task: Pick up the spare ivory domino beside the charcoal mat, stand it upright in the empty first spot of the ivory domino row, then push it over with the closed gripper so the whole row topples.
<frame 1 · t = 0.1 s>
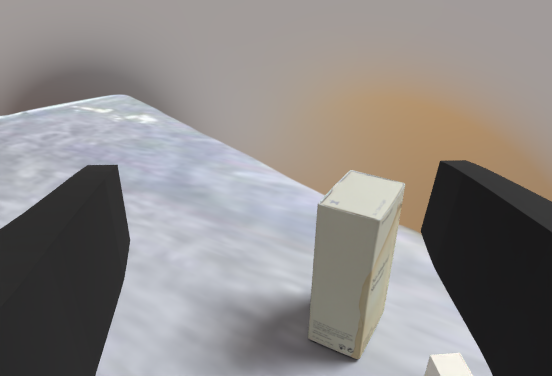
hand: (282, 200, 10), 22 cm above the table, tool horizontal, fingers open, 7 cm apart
skincare box: (346, 325, 36), on the table
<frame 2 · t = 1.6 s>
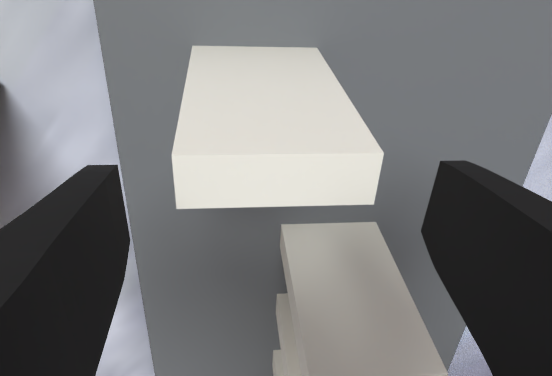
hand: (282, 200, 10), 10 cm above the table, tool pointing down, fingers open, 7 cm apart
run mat: (320, 262, 26), on the table
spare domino: (255, 65, 18), point 1 cm above the table, touching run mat
domino 2: (327, 234, 24), point 1 cm above the table, touching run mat
domino 3: (318, 301, 26), point 1 cm above the table, touching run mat
domino 4: (311, 355, 29), point 1 cm above the table, touching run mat
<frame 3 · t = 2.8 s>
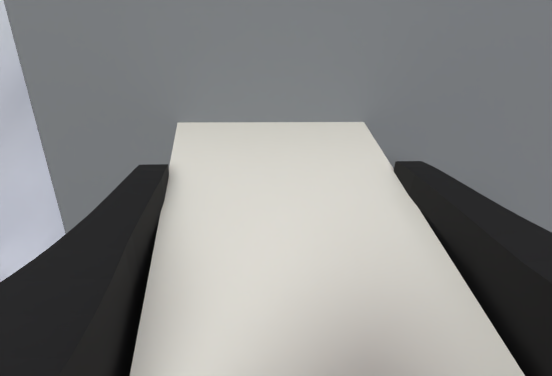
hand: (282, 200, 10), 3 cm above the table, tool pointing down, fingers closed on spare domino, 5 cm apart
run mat: (351, 374, 20), on the table
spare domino: (271, 147, 12), point 1 cm above the table, touching gripper, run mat
when the fingers open (4 cm above the table, at t = 6.7 s): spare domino drops 1 cm, resting on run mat.
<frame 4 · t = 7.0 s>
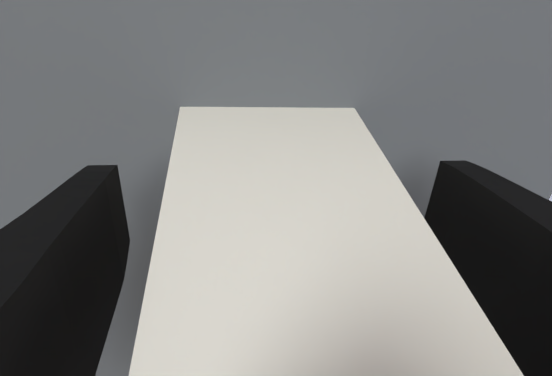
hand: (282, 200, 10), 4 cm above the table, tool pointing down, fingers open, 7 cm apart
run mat: (260, 296, 18), on the table
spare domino: (268, 131, 13), point 1 cm above the table, touching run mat
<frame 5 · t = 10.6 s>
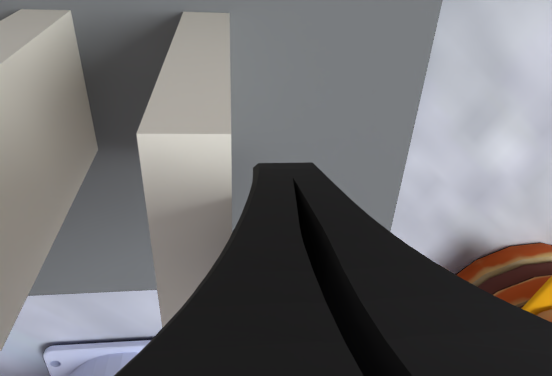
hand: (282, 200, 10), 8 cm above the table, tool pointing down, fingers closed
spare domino: (209, 85, 16), point 1 cm above the table, touching gripper, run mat
domino 2: (63, 85, 16), point 1 cm above the table, touching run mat
hamburger: (501, 300, 26), on the table
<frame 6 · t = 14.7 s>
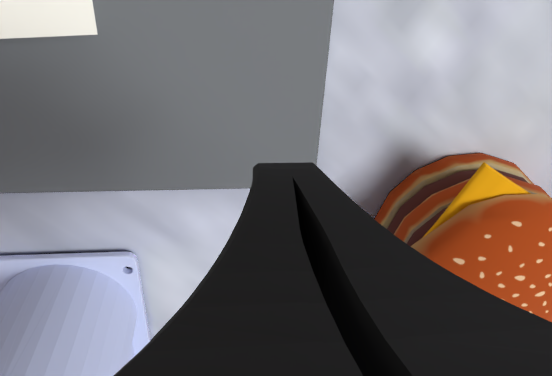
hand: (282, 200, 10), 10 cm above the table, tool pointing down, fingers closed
hamburger: (446, 220, 25), on the table
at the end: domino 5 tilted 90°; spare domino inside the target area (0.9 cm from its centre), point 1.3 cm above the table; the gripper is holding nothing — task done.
